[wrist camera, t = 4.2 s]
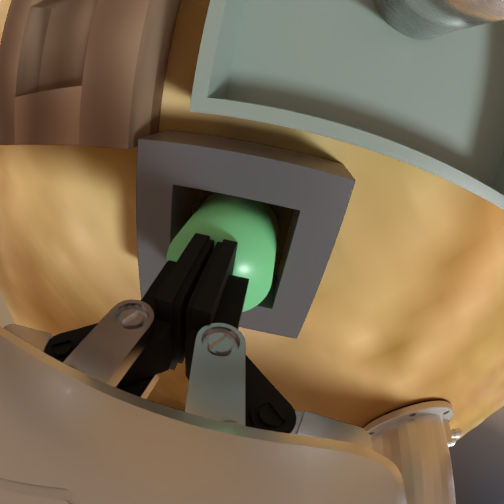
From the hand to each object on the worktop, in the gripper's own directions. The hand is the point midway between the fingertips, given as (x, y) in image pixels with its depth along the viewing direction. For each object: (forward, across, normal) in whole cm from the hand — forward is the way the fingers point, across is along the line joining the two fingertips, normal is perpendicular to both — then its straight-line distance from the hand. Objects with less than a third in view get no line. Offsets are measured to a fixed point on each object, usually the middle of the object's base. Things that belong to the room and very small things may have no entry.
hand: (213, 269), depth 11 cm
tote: (+5, -6, -14) cm, 16 cm away
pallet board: (+5, +11, -14) cm, 18 cm away
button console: (+5, 0, 0) cm, 5 cm away
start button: (+4, 0, 0) cm, 4 cm away
